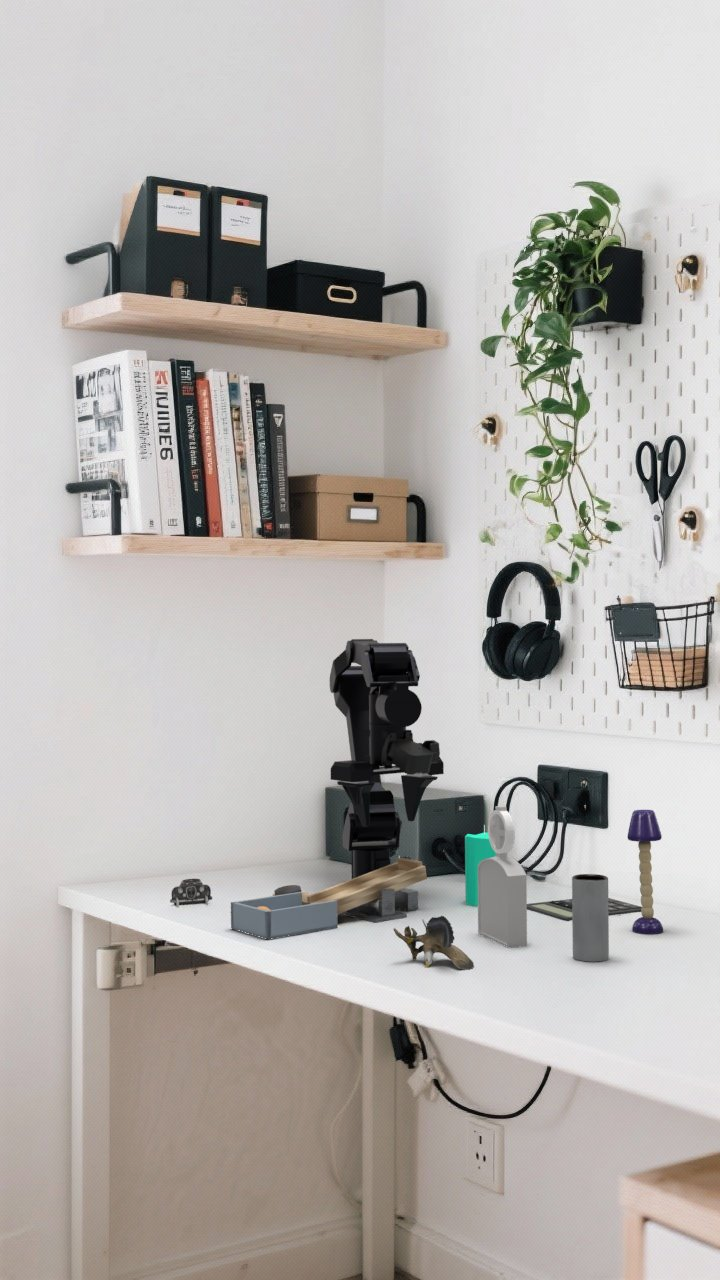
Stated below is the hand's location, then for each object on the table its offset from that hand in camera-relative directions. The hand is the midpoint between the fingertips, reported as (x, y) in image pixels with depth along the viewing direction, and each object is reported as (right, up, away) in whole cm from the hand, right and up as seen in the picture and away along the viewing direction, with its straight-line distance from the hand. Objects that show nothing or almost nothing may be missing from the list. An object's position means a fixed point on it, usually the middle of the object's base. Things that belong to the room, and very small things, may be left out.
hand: (388, 823), depth 214 cm
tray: (-15, -12, -20) cm, 28 cm away
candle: (+15, -12, -2) cm, 19 cm away
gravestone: (+15, -12, -28) cm, 34 cm away
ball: (-18, -10, -22) cm, 30 cm away
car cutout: (-27, -13, 0) cm, 30 cm away
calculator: (+29, -12, -8) cm, 33 cm away
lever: (-6, -9, -7) cm, 13 cm away
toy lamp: (+35, -12, -23) cm, 44 cm away
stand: (-1, -12, -9) cm, 15 cm away
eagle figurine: (+5, -12, -42) cm, 44 cm away
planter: (+25, -12, -39) cm, 48 cm away
